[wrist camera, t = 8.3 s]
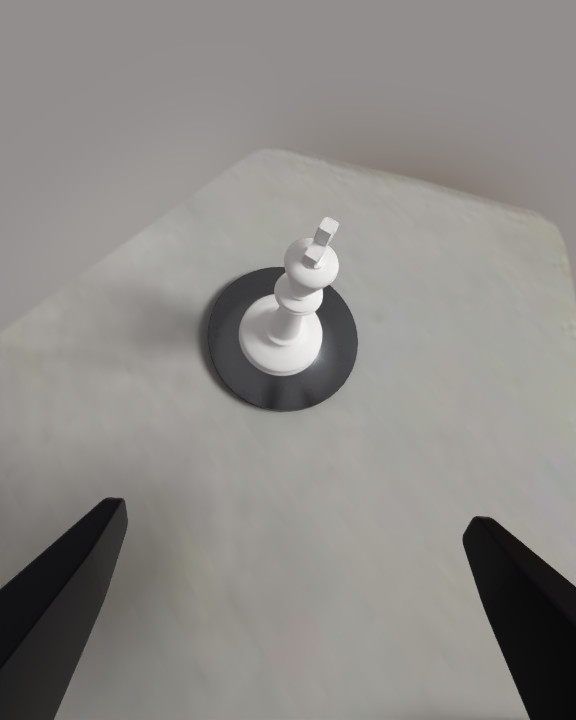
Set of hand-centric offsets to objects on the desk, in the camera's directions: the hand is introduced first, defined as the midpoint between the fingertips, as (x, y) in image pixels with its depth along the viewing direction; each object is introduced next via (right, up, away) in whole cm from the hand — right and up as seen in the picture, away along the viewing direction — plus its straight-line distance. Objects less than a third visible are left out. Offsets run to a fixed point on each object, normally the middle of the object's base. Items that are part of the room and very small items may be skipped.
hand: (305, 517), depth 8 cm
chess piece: (-1, +5, +11) cm, 13 cm away
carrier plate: (-1, +5, +12) cm, 13 cm away
